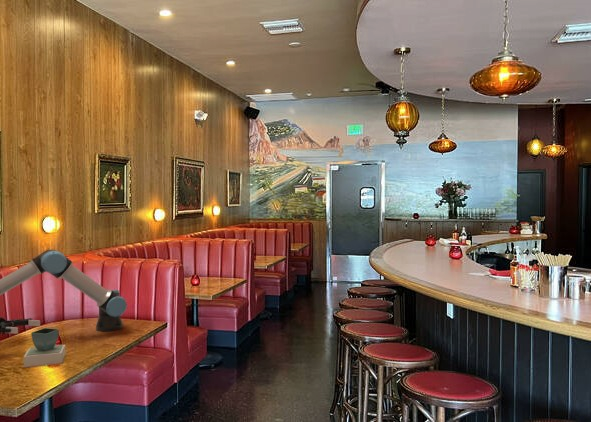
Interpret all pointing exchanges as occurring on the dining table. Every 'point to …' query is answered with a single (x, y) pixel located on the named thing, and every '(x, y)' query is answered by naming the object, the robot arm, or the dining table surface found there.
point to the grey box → (44, 356)
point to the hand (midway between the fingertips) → (28, 326)
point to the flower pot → (45, 338)
